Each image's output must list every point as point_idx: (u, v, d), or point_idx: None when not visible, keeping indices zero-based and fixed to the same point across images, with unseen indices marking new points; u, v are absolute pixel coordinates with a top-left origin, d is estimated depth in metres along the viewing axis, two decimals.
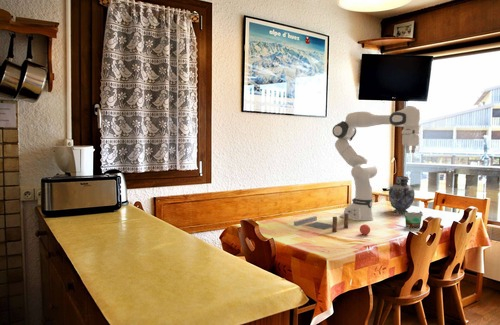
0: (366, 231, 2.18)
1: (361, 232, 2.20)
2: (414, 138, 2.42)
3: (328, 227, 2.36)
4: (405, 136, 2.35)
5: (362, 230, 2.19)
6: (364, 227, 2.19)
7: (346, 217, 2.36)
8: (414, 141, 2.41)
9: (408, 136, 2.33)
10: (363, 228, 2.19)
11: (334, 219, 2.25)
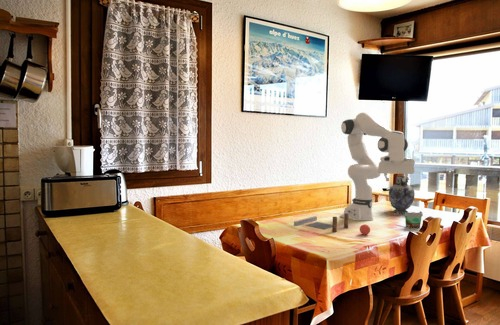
0: (366, 231, 2.18)
1: (361, 232, 2.20)
2: (399, 165, 2.22)
3: (328, 227, 2.36)
4: (379, 163, 2.26)
5: (362, 230, 2.19)
6: (364, 227, 2.19)
7: (346, 217, 2.36)
8: (398, 169, 2.22)
9: (380, 163, 2.24)
10: (363, 228, 2.19)
11: (334, 219, 2.25)
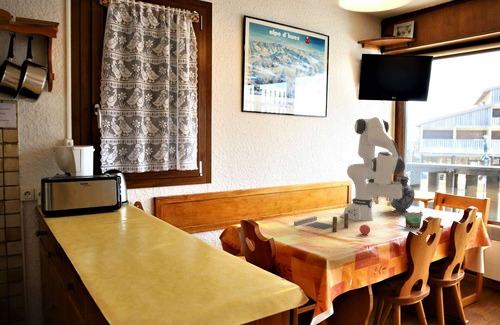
0: (366, 231, 2.18)
1: (361, 232, 2.20)
2: (385, 189, 2.10)
3: (328, 227, 2.36)
4: None
5: (362, 230, 2.19)
6: (364, 227, 2.19)
7: (346, 217, 2.36)
8: (384, 192, 2.11)
9: None
10: (363, 228, 2.19)
11: (334, 219, 2.25)
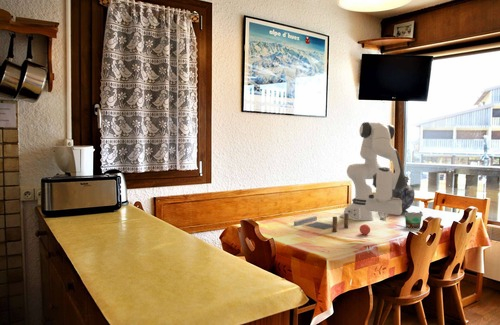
0: (366, 231, 2.18)
1: (361, 232, 2.20)
2: (385, 204, 2.11)
3: (328, 227, 2.36)
4: None
5: (362, 230, 2.19)
6: (364, 227, 2.19)
7: (346, 217, 2.36)
8: (384, 208, 2.11)
9: None
10: (363, 228, 2.19)
11: (334, 219, 2.25)
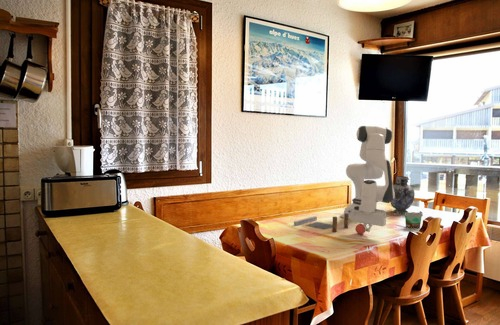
0: (361, 229, 2.20)
1: (358, 232, 2.21)
2: (370, 216, 2.17)
3: (328, 227, 2.36)
4: None
5: (357, 230, 2.21)
6: (358, 226, 2.21)
7: (346, 217, 2.36)
8: (368, 219, 2.18)
9: None
10: (357, 227, 2.21)
11: (334, 219, 2.25)
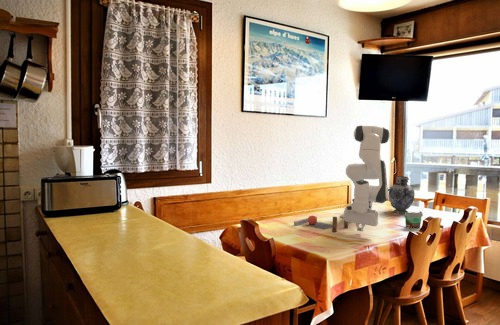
0: (311, 223, 2.41)
1: None
2: (362, 216, 2.20)
3: (328, 227, 2.36)
4: None
5: (309, 220, 2.42)
6: (312, 220, 2.41)
7: None
8: (361, 219, 2.21)
9: None
10: (311, 220, 2.41)
11: (334, 219, 2.25)
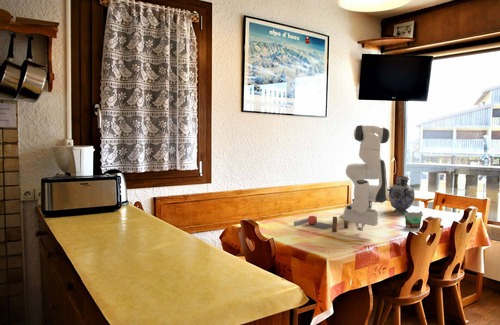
0: (311, 223, 2.41)
1: None
2: (362, 215, 2.20)
3: (328, 227, 2.36)
4: None
5: (309, 220, 2.42)
6: (312, 220, 2.41)
7: None
8: (361, 219, 2.21)
9: None
10: (311, 220, 2.41)
11: (334, 219, 2.25)
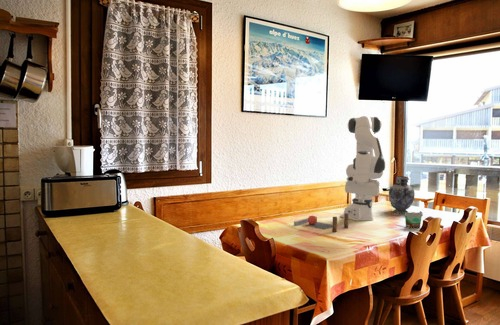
0: (311, 223, 2.41)
1: None
2: (363, 186, 2.19)
3: (328, 227, 2.36)
4: None
5: (309, 220, 2.42)
6: (312, 220, 2.41)
7: (346, 217, 2.36)
8: (362, 189, 2.19)
9: None
10: (311, 220, 2.41)
11: (334, 219, 2.25)
